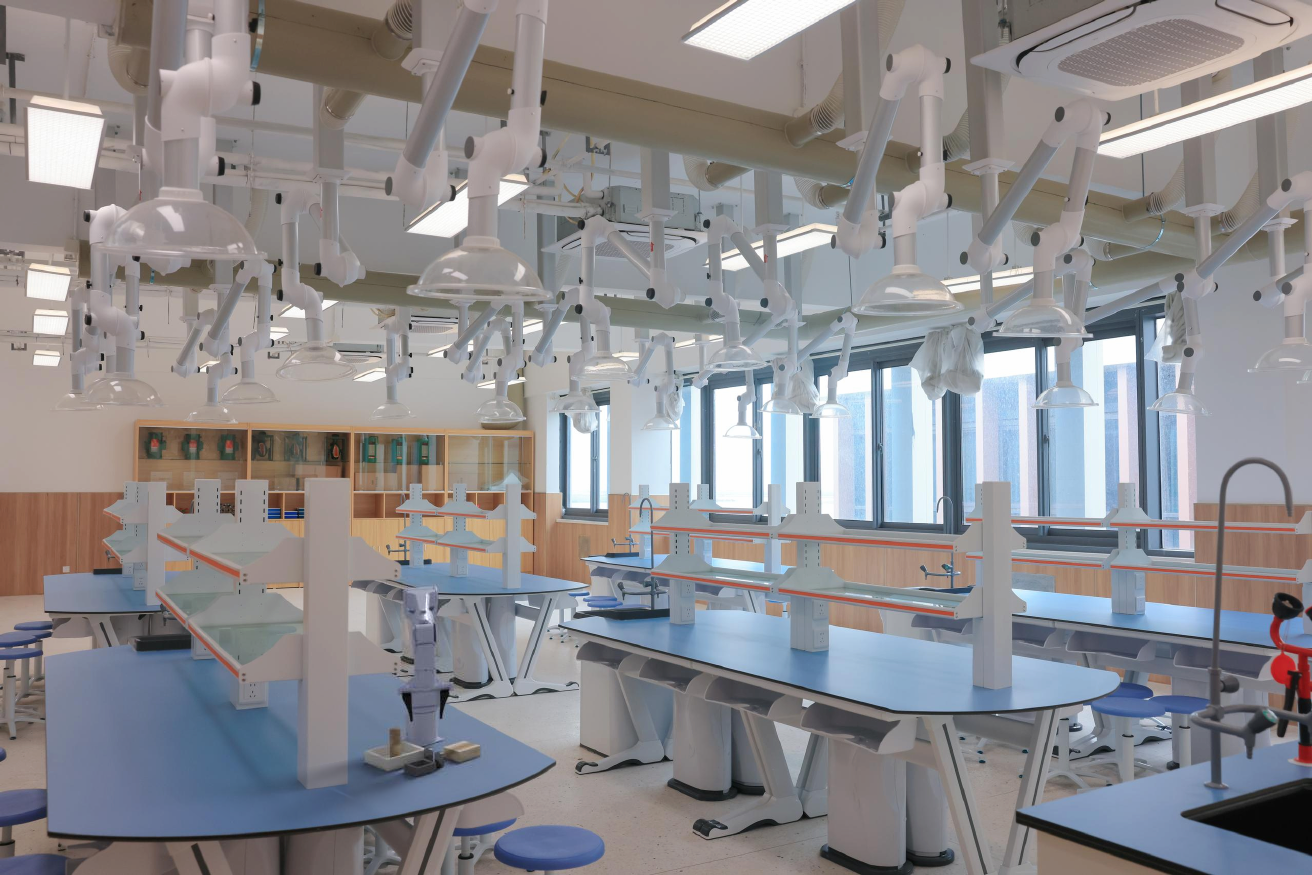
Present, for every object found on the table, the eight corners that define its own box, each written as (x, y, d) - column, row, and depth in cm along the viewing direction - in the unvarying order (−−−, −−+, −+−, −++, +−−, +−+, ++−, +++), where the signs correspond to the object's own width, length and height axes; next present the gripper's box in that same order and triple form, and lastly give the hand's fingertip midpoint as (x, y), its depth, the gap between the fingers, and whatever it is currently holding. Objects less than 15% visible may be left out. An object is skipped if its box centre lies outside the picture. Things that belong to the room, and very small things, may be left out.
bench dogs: (422, 762, 250) (422, 749, 250) (430, 760, 252) (429, 746, 252) (437, 768, 245) (437, 754, 245) (445, 765, 247) (445, 752, 247)
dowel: (388, 761, 250) (388, 730, 250) (391, 757, 253) (391, 727, 253) (400, 760, 250) (399, 730, 250) (402, 757, 253) (402, 726, 253)
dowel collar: (404, 771, 243) (404, 763, 243) (424, 765, 248) (423, 758, 248) (416, 776, 239) (416, 768, 239) (436, 770, 243) (436, 762, 243)
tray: (364, 762, 252) (364, 750, 252) (403, 751, 260) (403, 740, 260) (387, 771, 244) (387, 759, 244) (426, 760, 252) (426, 749, 252)
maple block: (443, 758, 254) (443, 747, 254) (464, 751, 260) (464, 740, 260) (459, 763, 250) (459, 751, 250) (480, 756, 255) (480, 745, 255)
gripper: (397, 674, 250) (398, 725, 249) (453, 669, 253) (454, 720, 253) (397, 668, 256) (398, 718, 256) (452, 663, 260) (453, 713, 260)
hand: (426, 719), depth 255 cm, fingers open, 7 cm apart
